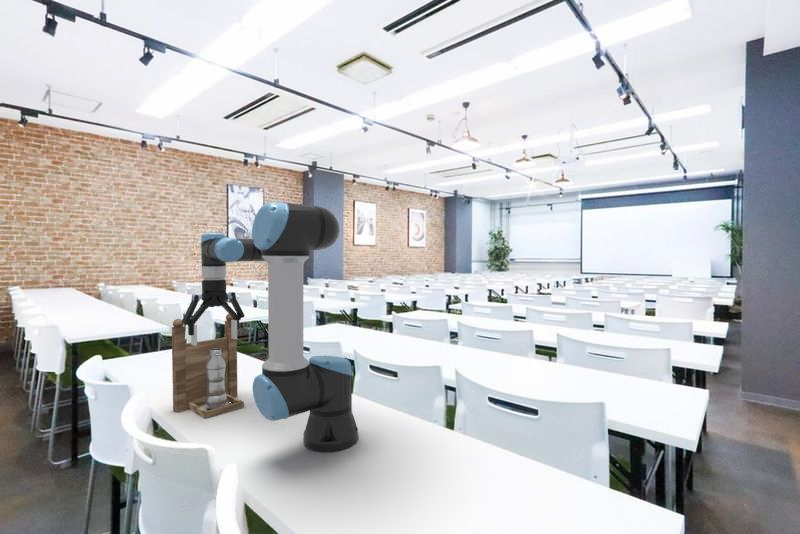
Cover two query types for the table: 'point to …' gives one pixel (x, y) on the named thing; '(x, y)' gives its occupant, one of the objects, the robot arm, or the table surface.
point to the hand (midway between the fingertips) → (215, 341)
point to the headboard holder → (202, 371)
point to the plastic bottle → (215, 380)
